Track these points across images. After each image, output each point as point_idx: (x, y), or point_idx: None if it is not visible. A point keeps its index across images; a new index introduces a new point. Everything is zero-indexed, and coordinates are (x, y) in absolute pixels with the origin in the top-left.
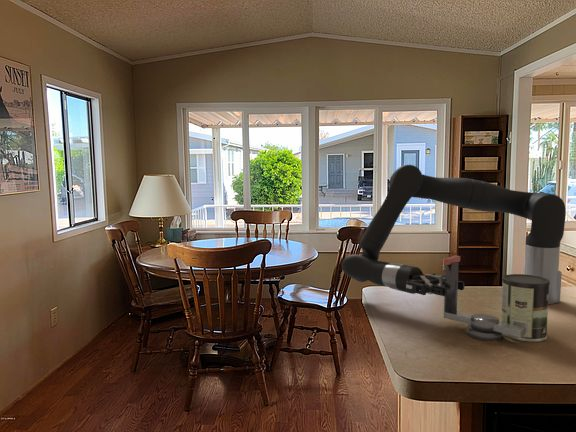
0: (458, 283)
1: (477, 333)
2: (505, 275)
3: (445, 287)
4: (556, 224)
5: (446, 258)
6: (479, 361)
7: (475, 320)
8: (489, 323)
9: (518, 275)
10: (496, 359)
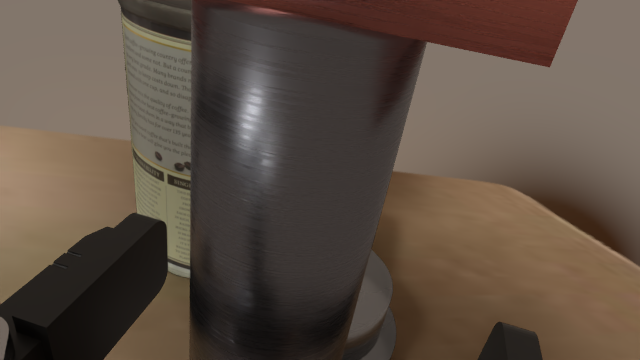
0: (134, 264)
1: (395, 337)
2: (178, 8)
3: (512, 329)
4: None
5: None
6: (601, 334)
7: (386, 306)
8: (378, 259)
9: None
10: (530, 292)
